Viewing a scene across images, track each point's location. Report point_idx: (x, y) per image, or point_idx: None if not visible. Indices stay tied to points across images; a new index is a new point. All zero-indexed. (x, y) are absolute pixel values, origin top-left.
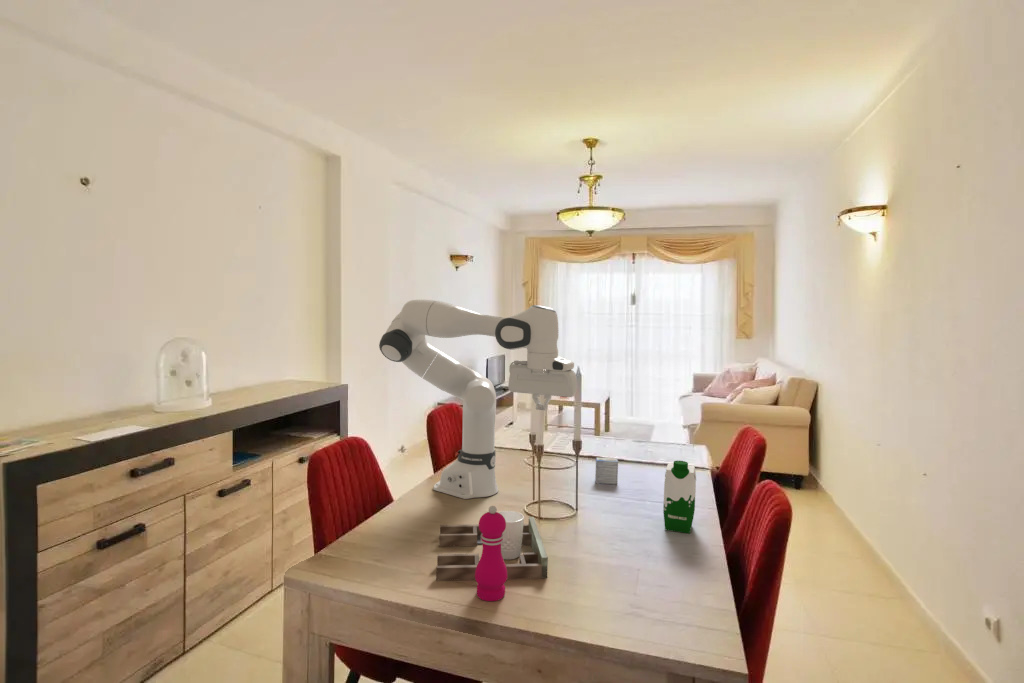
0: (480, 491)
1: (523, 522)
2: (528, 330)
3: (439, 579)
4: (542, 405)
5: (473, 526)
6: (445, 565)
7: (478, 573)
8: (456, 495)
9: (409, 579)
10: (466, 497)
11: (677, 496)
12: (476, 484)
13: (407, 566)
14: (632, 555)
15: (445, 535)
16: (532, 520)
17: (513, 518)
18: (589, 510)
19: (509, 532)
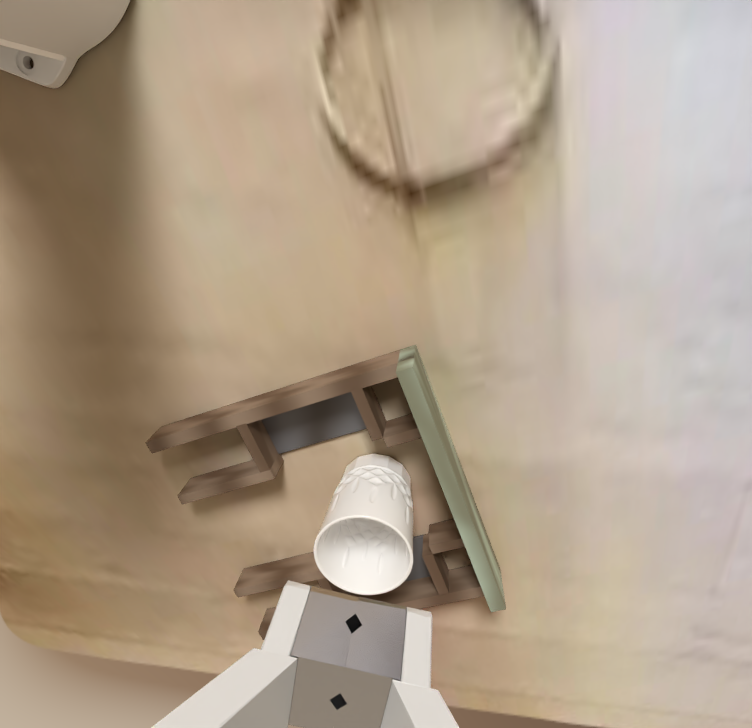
0: (82, 30)
1: (412, 539)
2: None
3: None
4: (367, 723)
5: (238, 428)
6: None
7: None
8: (7, 71)
9: (220, 620)
10: (56, 84)
11: None
12: (43, 31)
13: (185, 579)
14: (748, 409)
15: (196, 500)
16: (416, 399)
17: (370, 504)
18: (617, 13)
19: (382, 567)
